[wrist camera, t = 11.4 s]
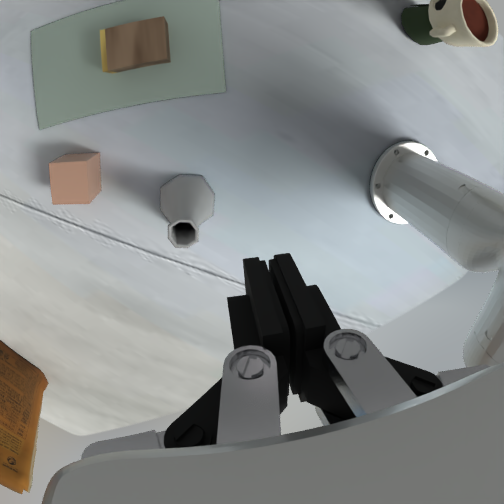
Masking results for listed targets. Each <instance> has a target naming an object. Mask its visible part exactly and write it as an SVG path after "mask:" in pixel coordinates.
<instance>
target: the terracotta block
mask: <svg viewBox="0 0 504 504" xmlns="http://www.w3.org/2000/svg"><path fill="white" fill-rule="evenodd" d="M49 173H50V185H51V195H52V203H53V204H90V203H91V201H92V200H93V199H94V198H95V197H96V196H97V195H98V194H99V193H100V192H101V173H100V153H81V154H65V155H63V156H61V157H59V158H58V159H56V160H54V161H52V162H50V163H49Z"/></svg>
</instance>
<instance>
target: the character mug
mask: <svg viewBox="0 0 504 504" xmlns="http://www.w3.org/2000/svg"><path fill="white" fill-rule="evenodd" d="M411 6H418V7H410V8H405V9H404V10H403V13H402V15H401V17H402V25H403V27H404V29H405V31H406V32H407V34H408V35H409V36H410V37H411V38H412V40H413V41H415V42H417V43H418V44H420V45H430V44H435V43H438V42H442V41H443V42H445V43H446V44H448V45H452V46H456V47H488V46H491V45H493V44H494V43H495V42H496V40H497V36H498V25H497V20H496V17H495V14H494V12H493V10H492V8H491V7H490V5H489V4H488V2H487V1H486V0H431V1H430V3H429V4H419V5H411Z"/></svg>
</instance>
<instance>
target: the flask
mask: <svg viewBox="0 0 504 504" xmlns="http://www.w3.org/2000/svg"><path fill="white" fill-rule="evenodd" d="M214 201H215V193H214V192H213V190H212V189H211V187H210V186H209V184H208V183H207V182H206V180H205V179H204V177H203V176H197V175H178V176H177V177H175V178H174V179H172V180H171V181H169V182H168V183H166V184H165V185H163V186H162V187H160V210H161V211H162V212H163V214H164V215H165V216H166V218H167V219H168V220H169V222H170V224H169V225H168V239H169V240H170V241H171V243H172V244H173V245H174V247H177V248H188V247H190V246H192V245H193V244H195V243H197V242H198V236H199V228H198V227H199V226H200V225H201V224H202V223H203V222H205V221H206V220H208V219H209V218H211V217H212V216H213V214H214Z"/></svg>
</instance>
